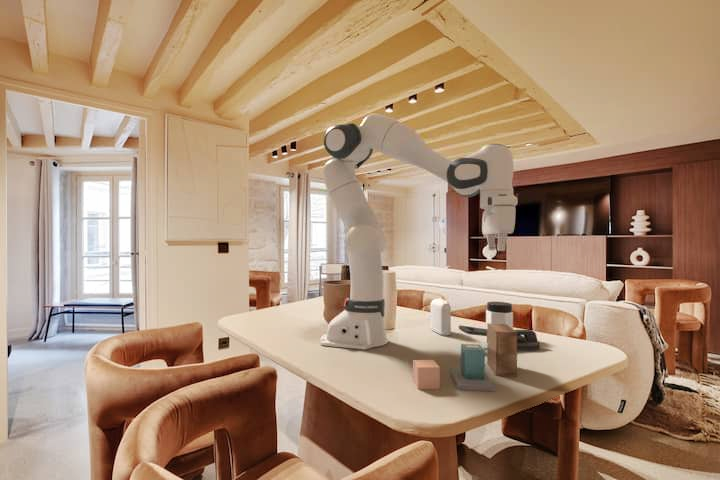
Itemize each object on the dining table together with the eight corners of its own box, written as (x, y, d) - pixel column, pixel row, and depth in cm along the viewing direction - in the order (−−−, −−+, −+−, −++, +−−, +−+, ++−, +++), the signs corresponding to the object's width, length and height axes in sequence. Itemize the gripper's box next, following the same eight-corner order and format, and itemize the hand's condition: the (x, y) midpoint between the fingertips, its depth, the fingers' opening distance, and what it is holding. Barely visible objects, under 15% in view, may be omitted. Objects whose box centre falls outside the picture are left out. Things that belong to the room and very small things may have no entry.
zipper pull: (456, 324, 117) (527, 323, 120) (455, 344, 117) (527, 342, 120) (467, 331, 108) (544, 329, 111) (467, 353, 108) (544, 351, 111)
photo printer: (428, 329, 137) (429, 297, 137) (439, 329, 138) (439, 296, 138) (441, 336, 127) (441, 301, 127) (452, 335, 128) (452, 301, 128)
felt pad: (457, 389, 81) (457, 385, 81) (450, 370, 93) (450, 366, 93) (494, 391, 80) (494, 386, 80) (481, 372, 92) (482, 368, 92)
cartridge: (465, 379, 84) (465, 348, 84) (460, 372, 89) (460, 343, 89) (484, 379, 84) (484, 349, 84) (479, 372, 88) (479, 343, 88)
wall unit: (496, 375, 89) (496, 331, 89) (486, 363, 99) (486, 323, 99) (517, 376, 89) (517, 332, 89) (506, 363, 98) (506, 323, 98)
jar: (516, 340, 122) (516, 305, 122) (493, 340, 121) (493, 305, 121) (504, 334, 131) (504, 301, 131) (482, 334, 130) (483, 301, 130)
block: (417, 389, 81) (418, 367, 81) (412, 380, 86) (413, 360, 86) (439, 389, 81) (439, 367, 81) (433, 380, 86) (433, 359, 86)
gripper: (477, 205, 112) (476, 249, 112) (494, 197, 92) (494, 251, 92) (497, 205, 111) (497, 250, 111) (520, 197, 91) (519, 251, 91)
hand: (496, 250), depth 101 cm, fingers open, 8 cm apart
